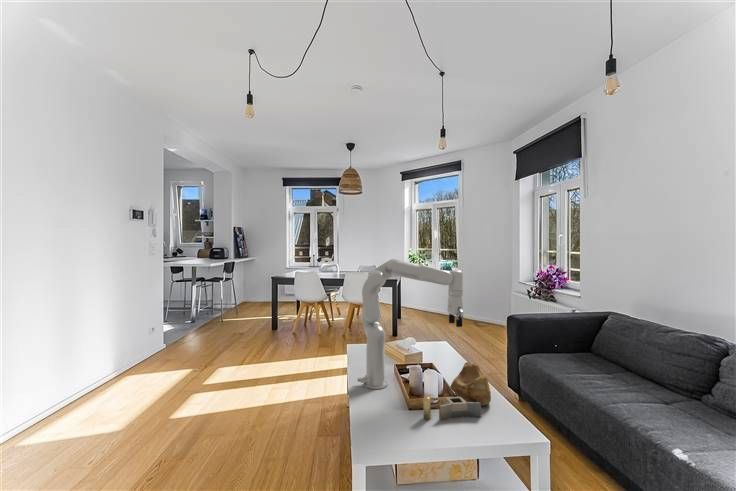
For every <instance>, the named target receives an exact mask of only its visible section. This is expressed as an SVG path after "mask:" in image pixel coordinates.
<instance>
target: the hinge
mask: <svg viewBox="0 0 736 491" xmlns="http://www.w3.org/2000/svg"><path fill="white" fill-rule="evenodd" d="M481 417H482V406H481V403H480V402H467V401H466V400H464V399H462V398H461V397H457V396H454V397H452V396H451V397H445V403H443V404H440V405H438V420H439V421H446V420H450V419H460V418H481Z"/></svg>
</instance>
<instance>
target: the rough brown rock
mask: <svg viewBox="0 0 736 491" xmlns="http://www.w3.org/2000/svg"><path fill="white" fill-rule="evenodd" d="M449 388H450V390H451V389H452V390H453V391H454V392H455V394H456V395H457V396H458V397H461V398H462V399H464V400H465V401H466V402H480V403H481V407H482V406H486V405H489V404H490V403H491V402H492V401H491V400H492V395H491V394H492V393H491V388H490V384H489V380H488V378H487V376H486V375H485V374H484V373H483V372H482V370H481V367H480V366H479V365H478V364H477V363H471V362H469V361H466V362H464V364H463V366H462V369H461V371H459V374H457V376H455V378H454V379H453V380H452V383H451V384H450V386H449ZM452 390H451V391H452ZM453 391H452V392H453ZM457 396H456V397H457Z"/></svg>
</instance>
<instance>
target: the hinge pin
mask: <svg viewBox="0 0 736 491" xmlns="http://www.w3.org/2000/svg"><path fill="white" fill-rule="evenodd" d="M431 399H432V398H431V396H429V395H428V396H427V395H425V396H423V413H422V414H423V420H424V421H431V419H432V418H431V417H432V416H431V414H432V413H431V412H432V410H431V409H432V408H431V404H432V402H431Z"/></svg>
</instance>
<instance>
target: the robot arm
mask: <svg viewBox="0 0 736 491" xmlns="http://www.w3.org/2000/svg"><path fill="white" fill-rule="evenodd" d="M393 276H396V277H400V278H404V279H405V278H406V279H410V280H416V281H420V282H426V283H432V284H436V285H437V284H438V285H441V286H448V288H447V289H448V298H447V313H448V323H449V324H455V323H456V324H455V327H456V328H462V327H463V317H464V311H463V310H464V308H463V296H464V295H463V292H464V291H463V290H464V288H463V287H464V286H463V285H464V284H463V283H464V282H463V279H464V277H463V276H464V275H463V271H461V270H445V269H444V270H443V269H438V268H433V267H429V266H426V265H423V264H418V263H413V262H409V261H404V260H401V259H400V260H399V259H395V258H394V259H393V258H392V259H389V260H387V261H385V262H384V263H382V264H381V265H379V266H377V267H375V268H374V269H372V270H371V271H369V273H368V275H367V278H366V280H365V282H364V284H363V286H362V287H361V288H362V290H361V295H362V296H361V297H362V308H361V317H362V324H363V331H364V334H365V336H366V352H365V353H366V355H365V356H366V374H365V375H364V376H363V377H357V383H359V382H360V383H362V384H363V387H365V388H366V389H369V390H370V389H371V390H380V389H385V388H387V387H388V382H387V380H386V379H385V376H386V375H385V374H386V372H385V365H386V364H385V359H386V358H385V353H386V351H385V346H386V332H385V330H384V328H383V326H382V325H381V317H382V312H381V305H380V300H379V299H380V298H379V290H380V289H381V287H383V286H384V285H385V284H386V281H387V280H388V279H389V278H391V277H393ZM455 316H456V317H455ZM455 318H456V319H455Z"/></svg>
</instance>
